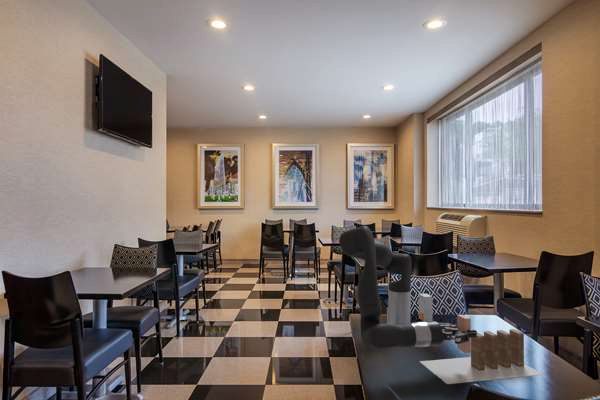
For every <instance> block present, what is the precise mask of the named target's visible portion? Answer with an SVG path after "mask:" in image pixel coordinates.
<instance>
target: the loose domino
mask: <svg viewBox="0 0 600 400" xmlns="http://www.w3.org/2000/svg"><path fill="white" fill-rule="evenodd" d="M456 322H457V323H456V326H457V328H458V329H459V330H472V329H471V328H472V327H471V322H472V321H471V317H469V316H467V315H464V314H457V316H456ZM456 345H457V347H456V349H457V350H459V351H461V352H463V353H464V354H471V338H469V341H467V342H464V343H460V344H456Z"/></svg>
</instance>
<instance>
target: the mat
mask: <svg viewBox="0 0 600 400" xmlns="http://www.w3.org/2000/svg"><path fill="white" fill-rule="evenodd" d="M419 363H421V364H422V365H423V366H424V367H426V368H427V369H428V370H429V371H430V372H431V373H433V374H434V375H435V376H437V377H438V378H439V379H440V380H442V382H444V383H445V384H446V385H453V384H454V385H455V384H463V383H472V382H482V381H484V382H485V381H491V380H501V379H512V378H520V377H530V376H531V377H532V376H540V375H543V373H542V372H540V371H538V370H536V369H535V368H533V367H531V366H529V365H527V364H525V363H524V366H522V367H518V366H517V365H515V364H513V363H511V368H505V367H503V366H501V365H500V364H498V369H491V368H490V367H488V366H486V365H485V370H481V371H479V370H477V369H476V368H474V367H473V366H471V356H466V357H457V358H456V357H455V358H445V359H433V360H420V361H419Z"/></svg>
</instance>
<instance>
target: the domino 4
mask: <svg viewBox="0 0 600 400" xmlns="http://www.w3.org/2000/svg"><path fill="white" fill-rule="evenodd" d="M509 334H511V363H513V364H515V365H517V366H518V367H522V366H524V364H525V333H524V332H522V331H520V330H518V329H509Z"/></svg>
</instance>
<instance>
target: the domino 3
mask: <svg viewBox="0 0 600 400" xmlns="http://www.w3.org/2000/svg"><path fill="white" fill-rule="evenodd" d="M496 335H498V364H500V365H501V366H503V367H505V368H511V334H510V332H507V331H504V330H502V329H499V330H497V329H496Z"/></svg>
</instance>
